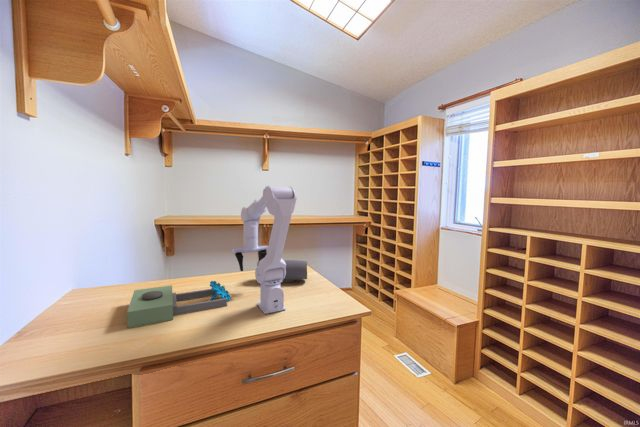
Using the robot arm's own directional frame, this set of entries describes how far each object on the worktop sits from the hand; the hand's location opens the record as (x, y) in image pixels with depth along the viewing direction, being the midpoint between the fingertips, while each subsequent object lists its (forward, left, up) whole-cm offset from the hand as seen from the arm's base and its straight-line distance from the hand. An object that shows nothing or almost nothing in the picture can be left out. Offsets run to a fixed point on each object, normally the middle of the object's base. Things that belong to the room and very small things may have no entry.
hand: (250, 269), depth 112 cm
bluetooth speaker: (+7, -17, -10) cm, 20 cm away
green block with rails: (-3, +26, -9) cm, 28 cm away
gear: (-3, +13, -10) cm, 16 cm away
